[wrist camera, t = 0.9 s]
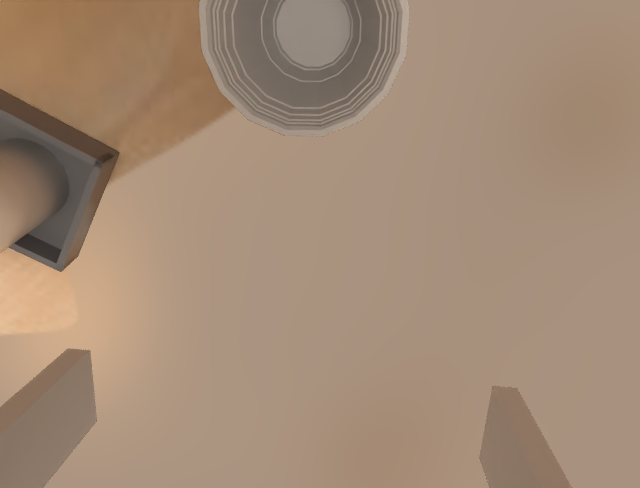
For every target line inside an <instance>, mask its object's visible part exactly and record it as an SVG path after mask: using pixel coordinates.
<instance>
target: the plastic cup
mask: <svg viewBox="0 0 640 488" xmlns="http://www.w3.org/2000/svg"><path fill="white" fill-rule="evenodd" d="M409 12H410V9H409V6H408V2H407V0H200V3H199V20H200V35H201V49H202V53H203V56H204V58H205V60H206V62H207V64H208V67H209V69H210V71H211V73H212V76H213V78H214V80H215V82H216V84H217V87H218V89H219V91H220V92H221V93H222V94H223V95H224V96H225V97H226V98H227V99H228V100H229V101H230V102H231V103H232V104H233V105H234V106H235V107H236V108H237V109H238V110H239V111H240V112H241V113H242V114H243V115H244V116H245V117H246V118H247V119H248V120H249V121H252V122H254V123H256V124H258V125H261V126H263V127H265V128H268V129H270V130H272V131H274V132H277V133H279V134H281V135H284V136H321V137H322V136H325V135H328V134H330V133H333V132H335V131H338V130H340V129H343V128H345V127H348V126H350V125H353V124H355V123H358V122H359V121H361V119H363V118H364V117H365V116H366V115H367V114H368V113H369V112H370V111H371V110H372V109H373V108H374V107H375V106H376V105H377V104H378V103H379V102H380V101H381V100H382V99H383V98H384V97H386V96H387V95H388V93H389V91H390V89H391V86H392V85H393V82H394V80H395V78H396V76H397V74H398V72H399V70H400V67H401V65H402V63H403V61H404V59H405V56H406V52H407V38H408V25H409Z"/></svg>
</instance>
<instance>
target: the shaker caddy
mask: <svg viewBox="0 0 640 488" xmlns="http://www.w3.org/2000/svg"><path fill="white" fill-rule="evenodd" d="M13 138H20V139H26V140H30V141H33V142H35V143H38V144H40V145H41V146H43V147H45V148H46V149H47V150H49V151H50V152H51V153H52V154H53V155H54V156H55V157H56V158H57V159H58V160H59V162H60V163H61V164H62V166H63V168H64V169H65V172H66V174H67V177H68V181H69V195H68V199H67V201H66V203H65V205H64V206H63V207H62V208H61V209H60V210H59V211H58V212H56V213H55V214H54V215H52V216H51V217H49V218H48V219H47V220H45V221H44V222H42V223H41V224H40V225H38V226H37V227H36V228H34V229H33V230H31V231H30V232H29V233H27V234H26V235H24V236H23V237H22V238H20V239H19V240H18V241H16V242H15V243H13V244H12V245H11V246H9V248H11V249H13V250H15V251H17V252H19V253H22V254H24V255H26V256H28V257H30V258H32V259H34V260H36V261H39V262H41V263H43V264H45V265H47V266H49V267H51V268H54V269H56V270H58V271H60V272H62V271H63V270H64V269H65V268H66V267H67V266H68V265H69V264H70V263H71V262H72V261H73V260H74V259H75V258H77V257H78V255H79V252H80V250H81V247H82V245H83V242H84V240H85V237H86V235H87V232H88V230H89V227H90V225H91V222H92V220H93V217H94V215H95V212H96V210H97V208H98V205H99V202H100V200H101V198H102V195H103V193H104V190H105V188H106V185H107V183H108V180H109V178H110V175H111V173H112V170H113V168H114V165H115V163H116V160H117V158H118V155H119V152H117V151H116V150H114V149H112V148H110V147H108V146H106V145H104V144H102V143H100V142H99V141H97V140H95V139H93V138H91V137H89V136H87V135H85V134H83V133H82V132H80V131H78V130H76V129H74V128H72V127H70V126H68V125H66V124H65V123H63V122H61V121H59V120H57V119H55V118H53V117H51V116H49V115H48V114H46V113H44V112H42V111H40V110H38V109H36V108H34V107H33V106H31V105H29V104H27V103H25V102H23V101H21V100H19V99H17V98H16V97H14V96H12V95H10V94H8V93H6V92H4V91H2V90H0V142H1V141H4V140H7V139H13Z"/></svg>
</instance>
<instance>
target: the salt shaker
mask: <svg viewBox="0 0 640 488" xmlns="http://www.w3.org/2000/svg"><path fill="white" fill-rule="evenodd" d="M68 195H69V181H68V177H67V174H66V172H65V169H64V168H63V166H62V164H61V163H60V162H59V160H58V159H57V158H56V157H55V156H54V155H53V154H52V153H51V152H50V151H49V150H47V149H46V148H45V147H43V146H41V145H40V144H38V143H35V142H33V141H30V140H26V139H20V138H13V139H7V140H4V141H1V142H0V253H1V252H2V251H4V250H5V249H6V248H8V247H9V246H11V245H12V244H13V243H15V242H16V241H18V240H19V239H20V238H22V237H23V236H24V235H26V234H27V233H29V232H30V231H31V230H33V229H34V228H36V227H37V226H38V225H40V224H41V223H42V222H44V221H45V220H47V219H48V218H49V217H51V216H52V215H54V214H55V213H56V212H58V211H59V210H60V209H61V208H62V207H63V206H64V205H65V203H66V201H67V199H68Z"/></svg>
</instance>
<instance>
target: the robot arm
mask: <svg viewBox="0 0 640 488" xmlns="http://www.w3.org/2000/svg"><path fill="white" fill-rule="evenodd" d="M96 421H97V417H96V407H95V397H94V386H93V375H92V364H91V353H90V350H78V349H67V350H66V351H64V352H63V353H62V354H61V355H60V356H59V357H58V358H56V359H55V360H54V361H53V362H52V363H51V364H50V365H48V366H47V367H46V368H45V369H44V370H43V371H41V372H40V373H39V374H38V375H37V376H36V377H35V378H33V380H31V381H30V382H29V383H28V384H26V385H25V386H24V387H23V388H22V389H21V390H19V391H18V392H17V393H16V394H15V395H14V396H13V397H11V398H10V399H9V400H8V401H7V402H6V403H4V404H3V405H2V406H1V407H0V488H43V487H44V486H45V485H46V484H47V482H48V481H49V480H50V479H51V477H52V476H53V475H54V474H55V473H56V471H57V470H58V469H59V468H60V466H61V465H62V464H63V463H64V461H65V460H66V459H67V458H68V456H69V455H70V454H71V453H72V451H73V450H74V449H75V448H76V446H77V445H78V444H79V443H80V441H81V440H82V439H83V438H84V437H85V435H86V434H87V433H88V432H89V430H90V429H91V428H92V426H93V425H94V424H95V422H96ZM480 461H481V464H482V467H483V470H484V473H485V476H486V479H487V482H488V485H489V488H572V487H571V485H570V483H569V481H568V480H567V478H566V476H565V474H564V472H563V470H562V469H561V467H560V465H559V463H558V461H557V460H556V458H555V456H554V454H553V453H552V450H551V449H550V447H549V445H548V443H547V441H546V440H545V438H544V436H543V435H542V432H541V430H540V429H539V427H538V425H537V423H536V421H535V420H534V418H533V416H532V414H531V412H530V411H529V409H528V407H527V405H526V404H525V401H524V400H523V398H522V396H521V394H520V392H519V391H518V389H517V388H511V387H500V386H492V392H491V397H490V402H489V408H488V413H487V419H486V424H485V430H484V435H483V441H482V447H481V452H480Z"/></svg>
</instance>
